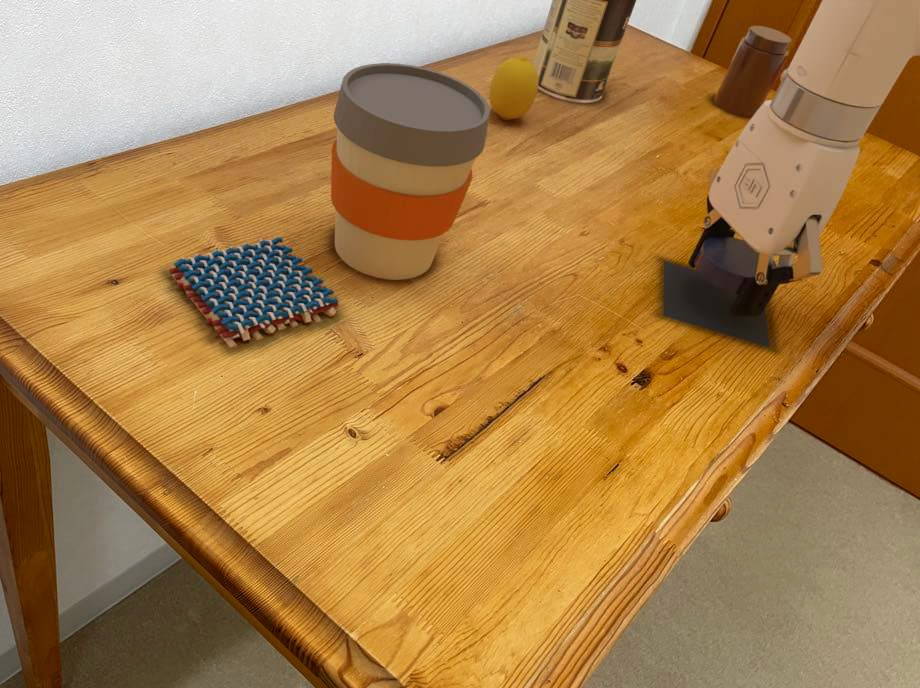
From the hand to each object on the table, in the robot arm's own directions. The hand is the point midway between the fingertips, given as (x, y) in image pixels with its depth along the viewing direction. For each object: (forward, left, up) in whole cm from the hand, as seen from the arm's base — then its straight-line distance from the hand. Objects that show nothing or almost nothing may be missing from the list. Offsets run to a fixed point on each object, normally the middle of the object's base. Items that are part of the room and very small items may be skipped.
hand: (723, 288), depth 80 cm
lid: (0, 0, +3) cm, 3 cm away
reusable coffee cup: (+31, +8, -2) cm, 32 cm away
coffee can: (+19, -44, -2) cm, 48 cm away
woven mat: (+39, +20, -2) cm, 44 cm away
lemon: (+25, -28, -2) cm, 38 cm away
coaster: (0, 0, -2) cm, 2 cm away
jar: (-5, -54, -2) cm, 54 cm away
